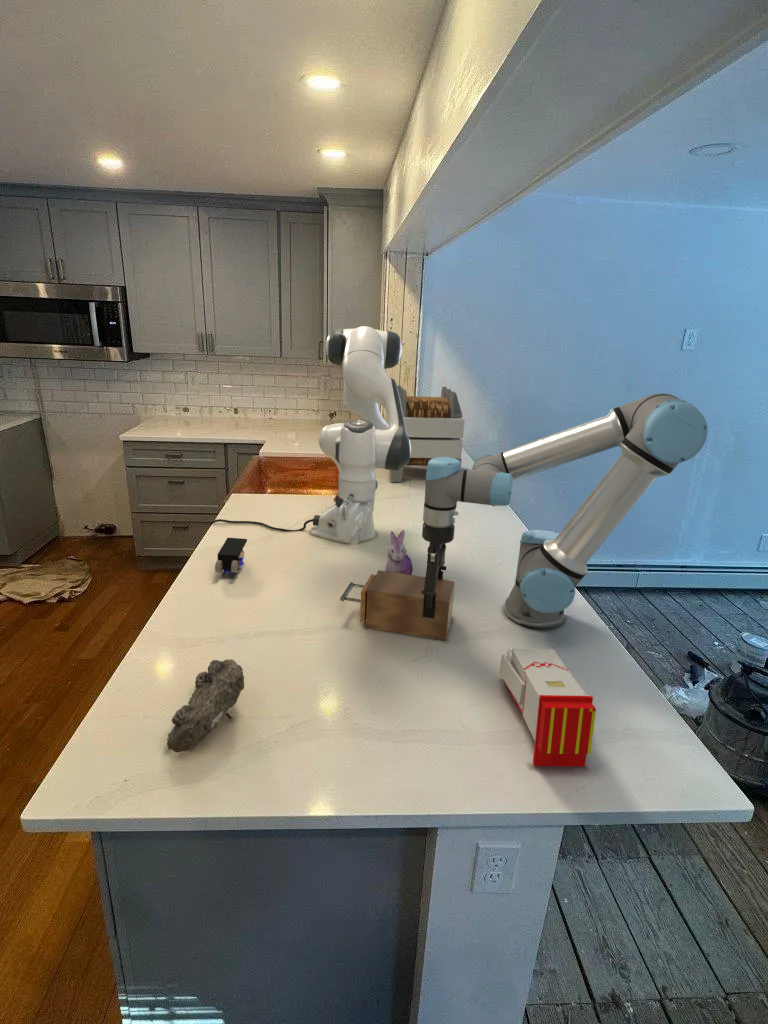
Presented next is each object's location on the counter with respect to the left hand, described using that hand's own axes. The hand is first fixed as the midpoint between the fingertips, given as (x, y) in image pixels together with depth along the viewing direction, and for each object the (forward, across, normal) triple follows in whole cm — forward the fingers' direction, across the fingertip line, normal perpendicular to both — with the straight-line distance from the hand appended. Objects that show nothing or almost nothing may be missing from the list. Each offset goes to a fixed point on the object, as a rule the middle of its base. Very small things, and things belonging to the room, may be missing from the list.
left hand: (355, 542), depth 140 cm
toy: (+20, -27, -46) cm, 57 cm away
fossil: (+20, -45, +15) cm, 51 cm away
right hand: (+14, 0, -20) cm, 25 cm away
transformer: (+19, +138, +7) cm, 140 cm away
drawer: (+19, 0, -10) cm, 21 cm away
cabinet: (+20, 0, -15) cm, 25 cm away
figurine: (+20, +23, -7) cm, 31 cm away
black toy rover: (+20, +14, +41) cm, 48 cm away
